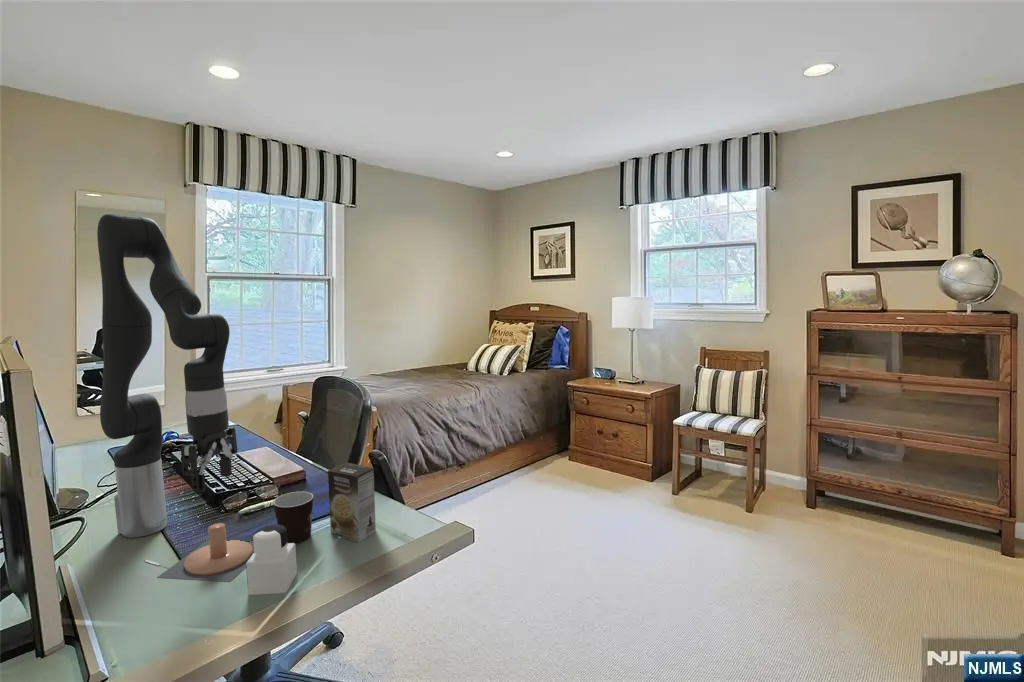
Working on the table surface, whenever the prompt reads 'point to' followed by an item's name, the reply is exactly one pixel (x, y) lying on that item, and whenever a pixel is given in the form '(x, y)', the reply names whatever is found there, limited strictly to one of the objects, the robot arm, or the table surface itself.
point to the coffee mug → (295, 515)
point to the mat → (180, 573)
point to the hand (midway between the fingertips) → (213, 483)
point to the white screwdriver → (154, 563)
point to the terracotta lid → (217, 554)
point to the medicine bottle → (271, 561)
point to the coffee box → (352, 501)
